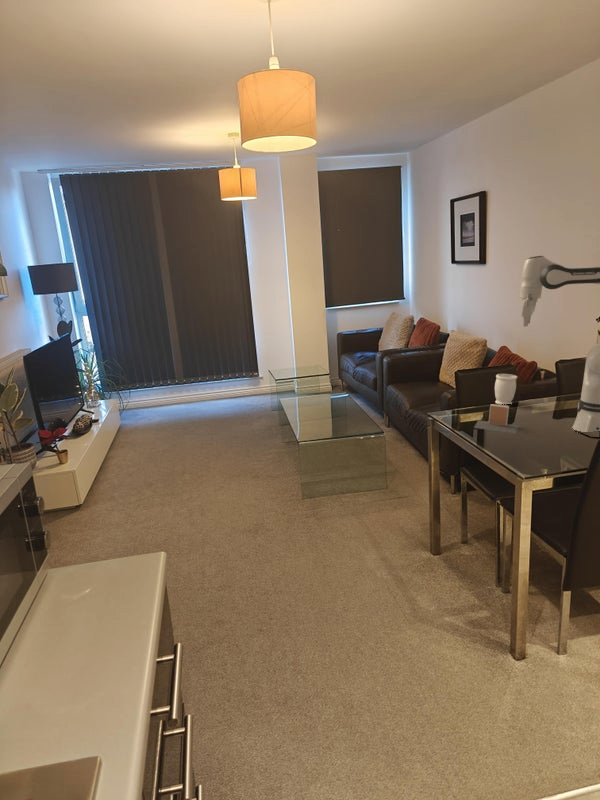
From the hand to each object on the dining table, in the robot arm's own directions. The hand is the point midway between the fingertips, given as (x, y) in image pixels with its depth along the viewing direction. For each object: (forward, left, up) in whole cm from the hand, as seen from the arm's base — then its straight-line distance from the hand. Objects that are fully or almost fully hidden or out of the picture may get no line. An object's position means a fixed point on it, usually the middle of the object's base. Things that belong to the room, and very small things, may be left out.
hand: (526, 324), depth 239 cm
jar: (+9, -28, -46) cm, 55 cm away
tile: (+7, +10, -45) cm, 47 cm away
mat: (+7, +14, -46) cm, 48 cm away
